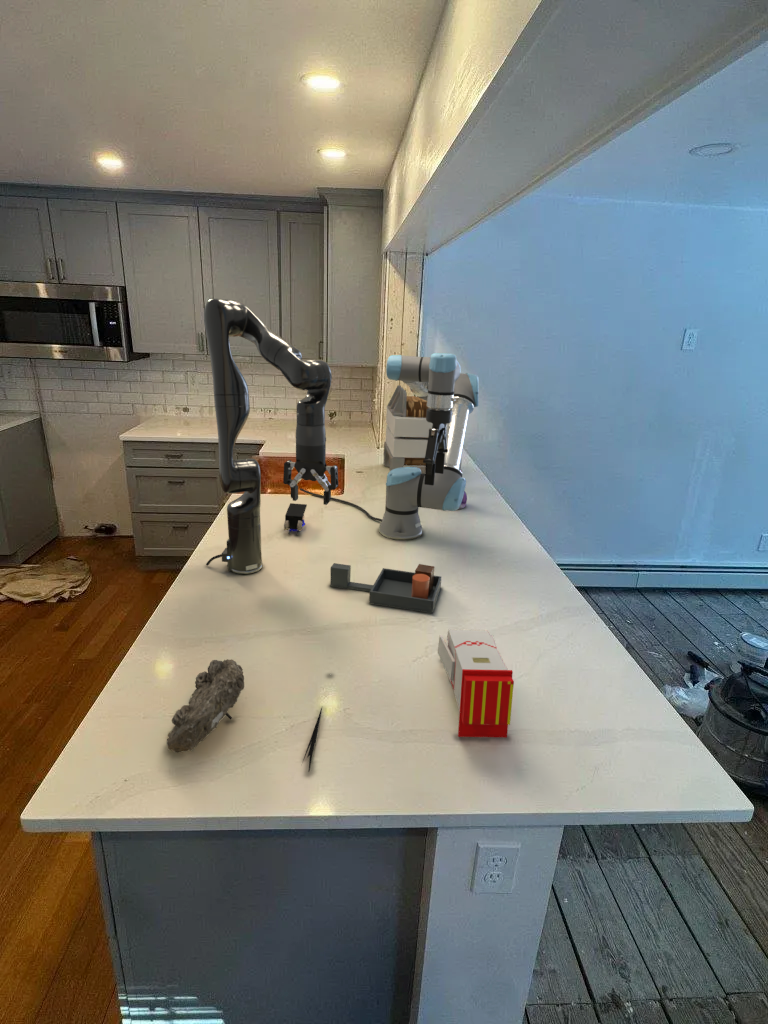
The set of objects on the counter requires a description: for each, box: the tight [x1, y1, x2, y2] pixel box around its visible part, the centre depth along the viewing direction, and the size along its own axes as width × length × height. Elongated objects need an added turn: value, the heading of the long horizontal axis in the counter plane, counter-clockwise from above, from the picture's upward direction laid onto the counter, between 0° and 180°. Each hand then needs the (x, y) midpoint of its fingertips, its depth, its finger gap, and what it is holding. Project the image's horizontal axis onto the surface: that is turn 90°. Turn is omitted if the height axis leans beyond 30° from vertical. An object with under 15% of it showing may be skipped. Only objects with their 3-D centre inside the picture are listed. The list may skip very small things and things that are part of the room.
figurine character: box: [283, 502, 308, 536], centre depth 198 cm, size 7×8×15 cm
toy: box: [437, 628, 515, 738], centre depth 117 cm, size 12×13×30 cm
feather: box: [301, 673, 332, 771], centre depth 108 cm, size 2×28×2 cm
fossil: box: [166, 658, 245, 754], centre depth 106 cm, size 22×10×15 cm
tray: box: [329, 562, 442, 614], centre depth 158 cm, size 30×15×6 cm, turn 77°
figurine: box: [457, 469, 468, 510], centre depth 228 cm, size 9×10×15 cm
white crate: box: [383, 384, 463, 472], centre depth 268 cm, size 34×33×41 cm
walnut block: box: [414, 563, 436, 596], centre depth 158 cm, size 4×4×7 cm
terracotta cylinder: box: [411, 574, 430, 599], centre depth 152 cm, size 5×5×7 cm
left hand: (310, 501), depth 149 cm, fingers open, 8 cm apart
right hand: (434, 478), depth 172 cm, fingers open, 13 cm apart
